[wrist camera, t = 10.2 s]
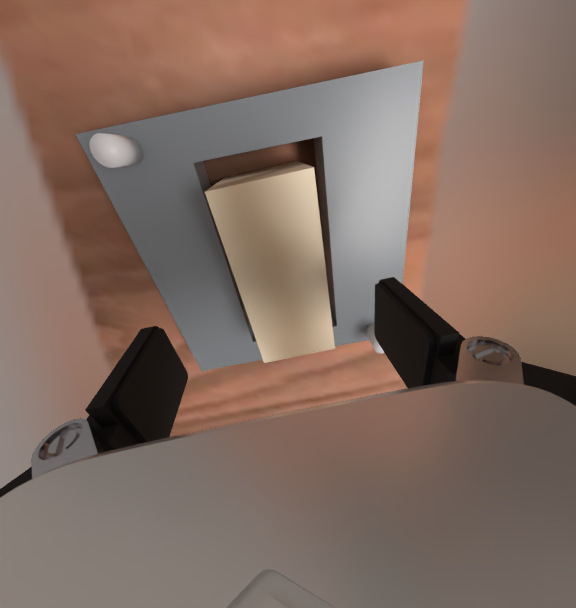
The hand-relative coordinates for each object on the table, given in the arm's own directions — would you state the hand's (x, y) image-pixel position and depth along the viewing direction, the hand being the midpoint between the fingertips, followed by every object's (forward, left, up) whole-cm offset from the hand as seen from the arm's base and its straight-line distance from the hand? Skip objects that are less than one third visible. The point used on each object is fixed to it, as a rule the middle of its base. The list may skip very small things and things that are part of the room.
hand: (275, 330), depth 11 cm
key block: (+1, -1, -9) cm, 9 cm away
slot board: (+1, -1, -8) cm, 8 cm away
